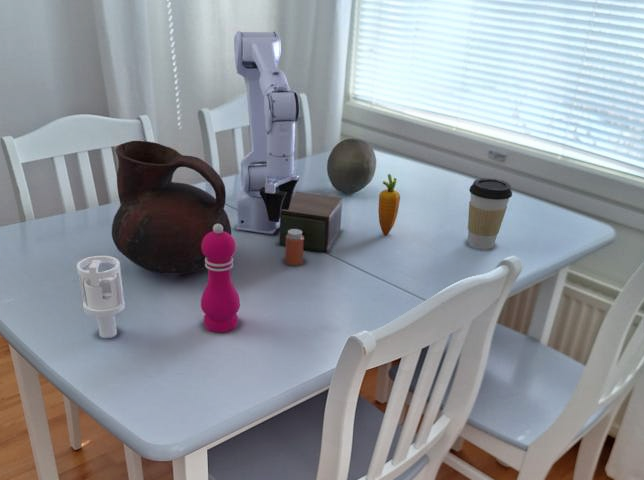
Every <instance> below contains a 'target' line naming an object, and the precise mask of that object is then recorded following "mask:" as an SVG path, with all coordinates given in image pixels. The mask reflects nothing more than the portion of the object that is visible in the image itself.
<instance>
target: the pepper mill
mask: <svg viewBox="0 0 644 480" xmlns="http://www.w3.org/2000/svg"><path fill="white" fill-rule="evenodd" d="M201 248H202V252H203V254H204V255H205V256H206V258H205V262H206V263H205V268H206V269H207V272H208V280H207V283H206V286H205V288H204V290H203V292H202V295H201V297H200V298H201V299H200V308H201V311H202V312H203V313H204V316H203V321H204V322H203V324H204V327H205V329H207V330H208V331H210V332H213V333H227V332H232V331H233V330H235V329H236V328H237V327H238V323H239V320H238V319H239V316H238V312H239V310H240V308H241V300H240V296H239V293H238V291H237V289H236V287H235V286H234V283H233V281H232V276H231V270H232V268H233V267H234V258H233V256H234V254H235V253H236V249H237V245H236V241H235V238H234V237H233V236H232V234H231V235H230V234H229V233H227V232H224V231H223V226H222V225H221V224H215V225H214V226H213V231H212V232H210V233H208V234H207V235H206V236H205V237H204V238H203V240H202V245H201Z"/></svg>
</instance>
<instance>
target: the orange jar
mask: <svg viewBox="0 0 644 480" xmlns="http://www.w3.org/2000/svg"><path fill="white" fill-rule="evenodd" d="M303 245H304V236H303V235H302V231H301V230H299V229H290V230H288V235H286V245H285V246H284V247H285V248H284V249H285V250H284V262H285V264H286V265H289V266H300V265H302V264H303V263H304V249H303Z"/></svg>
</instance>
